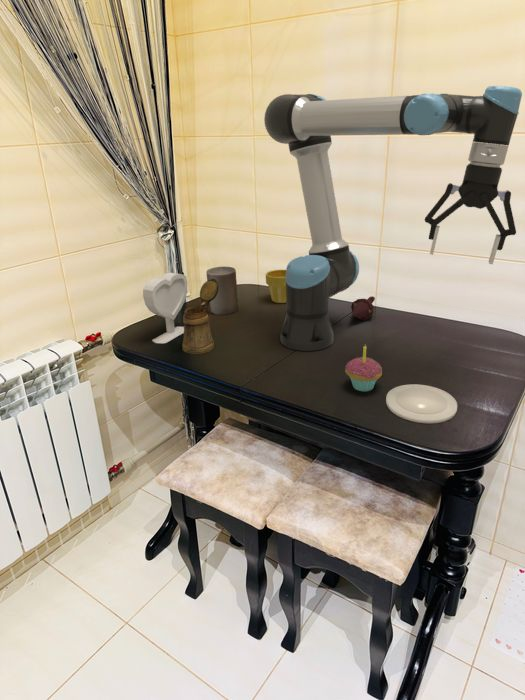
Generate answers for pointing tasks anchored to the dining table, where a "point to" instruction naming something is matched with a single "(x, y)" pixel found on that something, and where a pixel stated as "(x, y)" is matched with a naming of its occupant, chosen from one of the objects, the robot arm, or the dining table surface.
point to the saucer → (421, 403)
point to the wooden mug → (200, 322)
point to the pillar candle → (224, 290)
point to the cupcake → (363, 372)
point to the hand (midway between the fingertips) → (460, 258)
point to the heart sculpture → (166, 301)
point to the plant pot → (277, 285)
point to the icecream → (363, 308)
